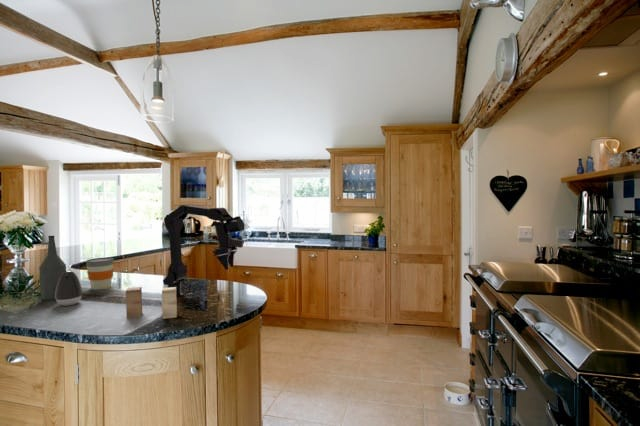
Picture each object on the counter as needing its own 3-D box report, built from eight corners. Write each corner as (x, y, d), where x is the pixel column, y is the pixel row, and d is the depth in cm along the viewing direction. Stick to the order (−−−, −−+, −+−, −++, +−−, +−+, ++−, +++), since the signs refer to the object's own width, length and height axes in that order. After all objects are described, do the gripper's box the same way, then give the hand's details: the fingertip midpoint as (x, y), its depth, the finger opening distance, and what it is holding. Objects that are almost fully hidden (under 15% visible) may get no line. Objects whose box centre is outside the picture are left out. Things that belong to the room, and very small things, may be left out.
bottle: (43, 301, 165) (39, 237, 164) (38, 297, 172) (35, 235, 171) (69, 296, 173) (66, 235, 172) (64, 293, 180) (61, 233, 178)
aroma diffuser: (53, 309, 154) (51, 274, 153) (57, 302, 163) (56, 270, 163) (81, 305, 159) (79, 271, 158) (84, 299, 168) (82, 267, 167)
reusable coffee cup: (115, 287, 189) (114, 259, 188) (87, 291, 182) (86, 262, 181) (113, 283, 199) (112, 256, 199) (87, 286, 192) (85, 259, 192)
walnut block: (128, 314, 146) (127, 287, 146) (142, 312, 148) (141, 286, 148) (126, 318, 142) (125, 290, 141) (140, 316, 143) (139, 289, 143)
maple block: (163, 314, 145) (163, 288, 145) (177, 313, 147) (176, 286, 146) (162, 318, 141) (161, 291, 140) (176, 317, 142) (175, 290, 142)
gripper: (235, 232, 154) (242, 267, 154) (244, 230, 173) (250, 262, 173) (210, 237, 154) (217, 272, 154) (222, 234, 173) (228, 266, 172)
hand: (229, 268), depth 163 cm, fingers open, 9 cm apart
